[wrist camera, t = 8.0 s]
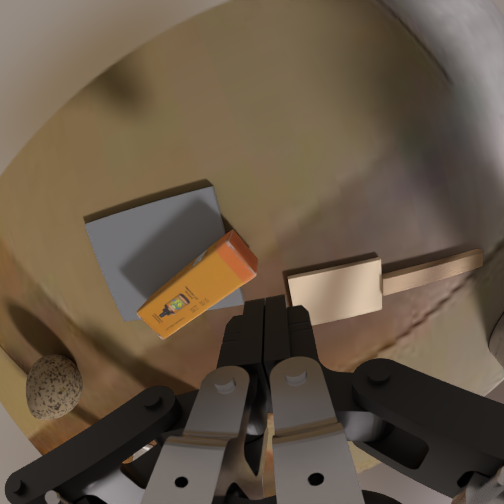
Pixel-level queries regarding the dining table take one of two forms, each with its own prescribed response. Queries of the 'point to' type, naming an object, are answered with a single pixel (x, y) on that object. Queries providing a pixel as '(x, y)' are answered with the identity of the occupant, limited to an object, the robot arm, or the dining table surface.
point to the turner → (368, 284)
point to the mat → (156, 246)
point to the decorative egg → (53, 387)
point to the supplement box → (200, 285)
